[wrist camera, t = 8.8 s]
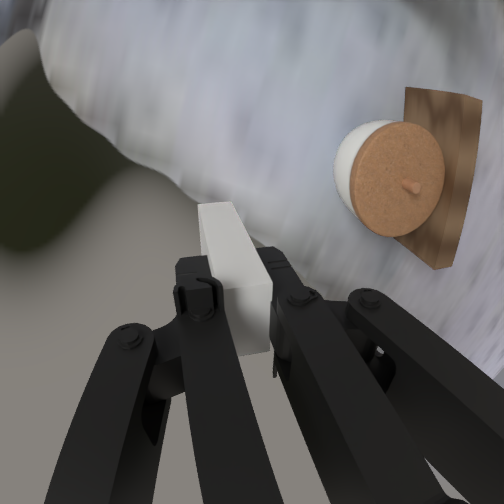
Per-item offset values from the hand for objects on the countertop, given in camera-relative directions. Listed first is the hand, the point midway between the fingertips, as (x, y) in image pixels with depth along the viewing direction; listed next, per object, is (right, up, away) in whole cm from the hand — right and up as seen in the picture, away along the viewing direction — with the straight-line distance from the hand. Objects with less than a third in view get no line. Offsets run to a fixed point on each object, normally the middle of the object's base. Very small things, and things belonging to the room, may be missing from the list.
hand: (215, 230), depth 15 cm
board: (+20, +9, +19) cm, 29 cm away
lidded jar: (+13, +9, +18) cm, 24 cm away
